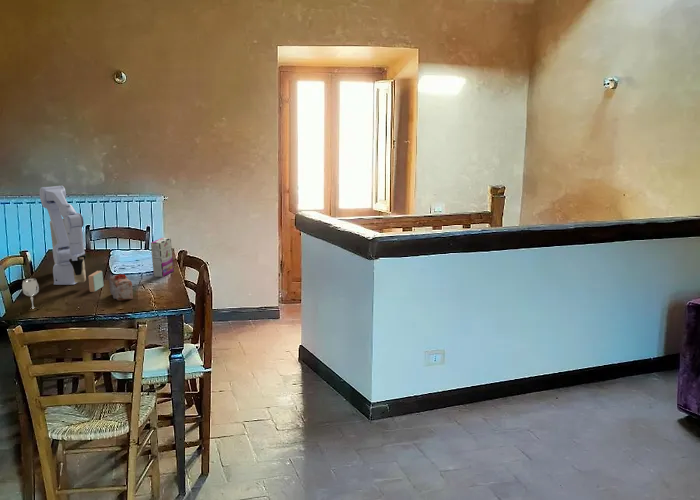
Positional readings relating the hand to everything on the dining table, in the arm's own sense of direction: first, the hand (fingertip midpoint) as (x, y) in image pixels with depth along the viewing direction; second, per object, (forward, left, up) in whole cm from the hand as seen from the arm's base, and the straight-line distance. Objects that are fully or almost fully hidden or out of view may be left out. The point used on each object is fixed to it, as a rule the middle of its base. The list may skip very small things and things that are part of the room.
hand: (79, 273), depth 285 cm
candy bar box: (+28, +25, -7) cm, 38 cm away
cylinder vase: (-19, +29, -7) cm, 35 cm away
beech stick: (0, 0, -3) cm, 3 cm away
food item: (+23, -13, -7) cm, 27 cm away
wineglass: (-5, -30, -7) cm, 31 cm away
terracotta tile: (+7, 0, -7) cm, 10 cm away
